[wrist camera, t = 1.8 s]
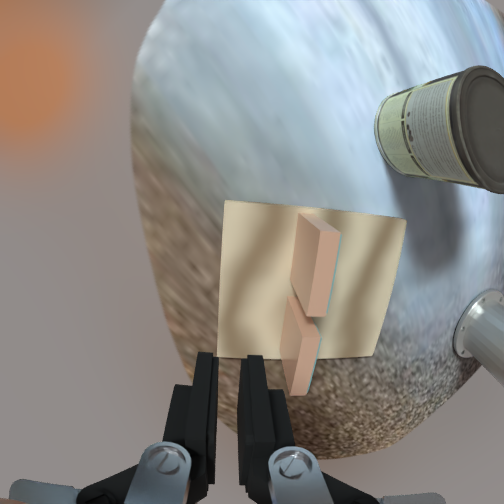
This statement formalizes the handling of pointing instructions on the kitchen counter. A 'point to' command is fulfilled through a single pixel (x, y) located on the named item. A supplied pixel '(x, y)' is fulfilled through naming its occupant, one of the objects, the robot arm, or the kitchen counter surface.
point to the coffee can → (447, 129)
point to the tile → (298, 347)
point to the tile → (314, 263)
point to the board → (279, 285)
